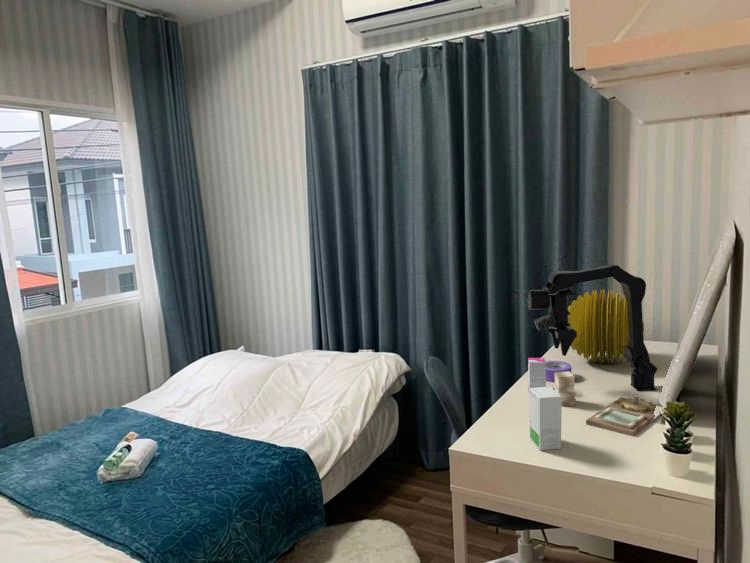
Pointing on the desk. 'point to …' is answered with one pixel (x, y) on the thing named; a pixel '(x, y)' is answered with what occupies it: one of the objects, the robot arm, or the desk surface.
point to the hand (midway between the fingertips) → (560, 351)
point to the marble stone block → (565, 388)
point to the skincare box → (545, 418)
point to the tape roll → (556, 369)
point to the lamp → (600, 325)
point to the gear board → (624, 416)
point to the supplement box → (536, 373)
